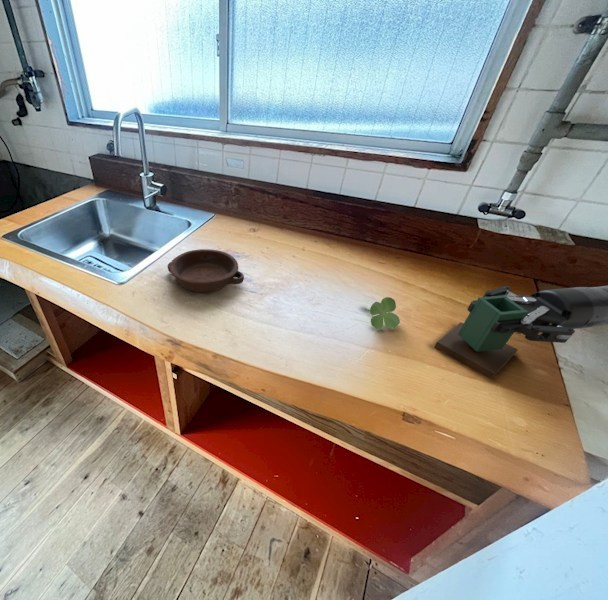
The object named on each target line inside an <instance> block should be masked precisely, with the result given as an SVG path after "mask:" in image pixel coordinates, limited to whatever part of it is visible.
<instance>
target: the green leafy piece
mask: <svg viewBox="0 0 608 600" xmlns="http://www.w3.org/2000/svg"><path fill="white" fill-rule="evenodd" d="M396 309H397V304H396V300H395V299H394V298H393V297H390V296H389V297H388V296H387V297H383V298H382V299H381V301H374V302H373V303H372V304H371V305H370V308H369V309H368V308H365V309H364V310H365V311H367V312H369V314H370V315H371V316H372V317H371V318H370V325H371V326H372V328H374V329H376V330H381V329H382V328H383V327H384V326H385V328H387V329H388V330H390V329H396V328H397V326H399V325H400V323H401V319H400V317H399V316H398V315H397V314H396V313H395V312H394V311H395V310H396Z"/></svg>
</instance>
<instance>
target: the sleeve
mask: <svg viewBox="0 0 608 600" xmlns="http://www.w3.org/2000/svg"><path fill="white" fill-rule="evenodd" d="M527 314H528V311H526V310H525V309H523V308H522V307H521V306H519V305H518V304H516V303H515V302H513V301H512V300H511V299H509V298H507V297H506V296H505V295H501V296H491V297H483V296H481V297H480V296H479V297H478V298H477V301H476V303H475V305H474V307H473V309H472V310H471V312H469V314H468V315H467V317H466V318H465V320H464V322H463V323H464V324H463V326H462V327H461V329H460V331H459V332H458V335H460V336H461V337H462V338H463V339H464V340H465V341H466V342H467V343H468V344H469V345H470V346H471V347H472V348H473V349H474V350H476V351H477V352H479V351H489V350H499V349H502V348H503V347H504V346H505V344H507V343H508V342H509V340H510V338H511V337H512V336H513V335H514V334H515V333H514V332H513V333H499V332H498V333H494V332H493V331H492V330H491V327H492V326H493V324H494V323H495V322H496V321H503V320H513V319H517V320H518V321H519V320H520V319H522V318H525V316H526V315H527Z"/></svg>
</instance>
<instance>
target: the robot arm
mask: <svg viewBox="0 0 608 600" xmlns="http://www.w3.org/2000/svg"><path fill="white" fill-rule="evenodd" d="M511 291H512V287H511V286H509V285H503V286H499V287H496V288H493V289H489V290H487V291H485V292H484V294H483V295H482V297H491V296H501V295H505V296H506V297H507V298H509V299H511V300H512V301H513V302H515V303H516V304H518V305H519V306H521V307H522V308H523V309H525V310H526V311H528V314H527V315H526V316H525V318H522V319H520V320H519V321H518V320H517V319H513V320H503V321H496V322H495V323H494V324H493V326H492V327H491V330H492V331H493V332H494V333H498V332H499V333H513V332H514V333H513V334H517V335H521V334H522V335H524V338H525V339H526V340H527V341H530V342H545V343H561V344H562V343H563V344H565V343H566V342H567V341H568V340H570V338H571V337H572V336H573V335H574V333H575V332H576V330H578V329H579V330H580V329H586V328H587V329H589V328H593V327H597V326H604V325H608V285H602V286H601V285H600V286H590V287H588V286H576V287H565V288H556V289H555V288H554V289H544V290H540V291H537V292H535V293H532V294H530V295H529V294H528V295H527V294H515V293H514V292H511ZM477 300H478V299H477ZM477 300H475V299H474V300H471V302H470V304H469V305H468V307H467V311H468V312H469V313H470V312H471V310H472V309H473V307H474V305H475V303H476V301H477Z"/></svg>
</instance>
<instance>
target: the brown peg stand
mask: <svg viewBox="0 0 608 600" xmlns="http://www.w3.org/2000/svg"><path fill="white" fill-rule="evenodd" d="M463 324H464V322H462V321H461V322H459V323H458V324H457V325H455V326H454V327H453V328H452V329H451V330H449V331H448V332H447V333H446V334H444V335H443V336H442V337H441V338H440V339H438V340H436V342H435V344H434V346H433V347H434V348H435V349H437V350H438V351H441V352H442V353H444V354H445V355H448V356H449V357H451V358H453V359H455V360H457V361H458V362H460V363H462V364H463V365H465V366H468V367H470V368H471V369H473V370H474V371H476V372H478V373H480V374H482V375H484V376H485V377H487V378H489V379H493V378H495V376H496V375H497V374H498V372H500V371H501V370H502V368H503V367H505V365H506V364H507V363H508V362H509V361H510V360H511V359H512V358H513V356H514V355H516V353H517V352H518V350H519V349H518V348H517V347H514V346H512V345H510V344H507V343H506V344H505V346H504V347H503V348H502V349H499V350H489V351H479V352H477V351H476V350H474V349H473V348H472V347H471V346H470V345H469V344H468V343H467V342H466V341H465V340H464V339H463V338H462V337H461V336H460V335H458V332H459V331H460V329H461V327H462V326H463Z"/></svg>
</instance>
